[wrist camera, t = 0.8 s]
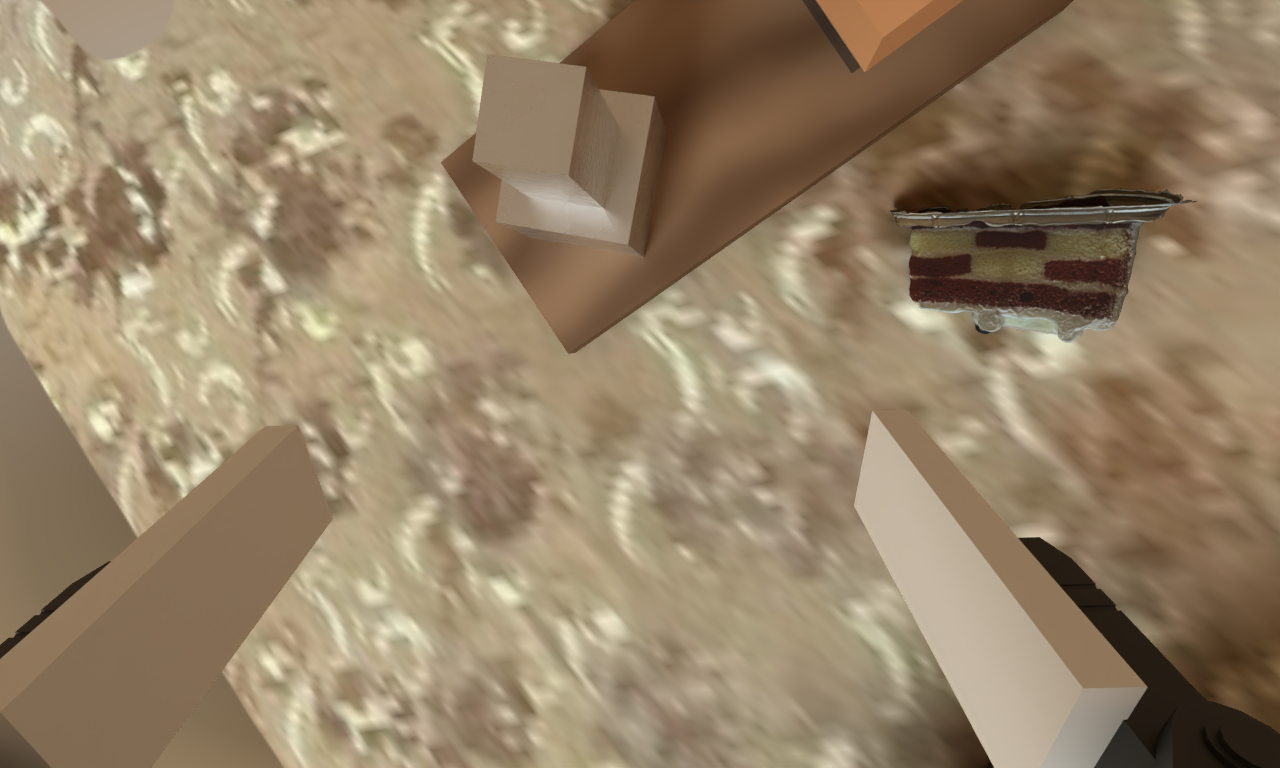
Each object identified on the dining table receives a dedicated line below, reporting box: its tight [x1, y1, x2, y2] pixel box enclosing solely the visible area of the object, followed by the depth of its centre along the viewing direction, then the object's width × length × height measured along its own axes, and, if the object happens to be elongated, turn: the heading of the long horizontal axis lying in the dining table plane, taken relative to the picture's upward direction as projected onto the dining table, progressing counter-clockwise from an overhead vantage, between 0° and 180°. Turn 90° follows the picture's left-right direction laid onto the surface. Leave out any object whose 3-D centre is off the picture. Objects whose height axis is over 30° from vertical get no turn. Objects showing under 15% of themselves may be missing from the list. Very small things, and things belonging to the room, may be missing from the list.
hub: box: [472, 54, 667, 257], centre depth 27 cm, size 7×7×11 cm
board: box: [441, 0, 1073, 354], centre depth 31 cm, size 14×32×2 cm, turn 125°
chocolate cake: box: [889, 188, 1197, 343], centre depth 29 cm, size 10×7×12 cm
